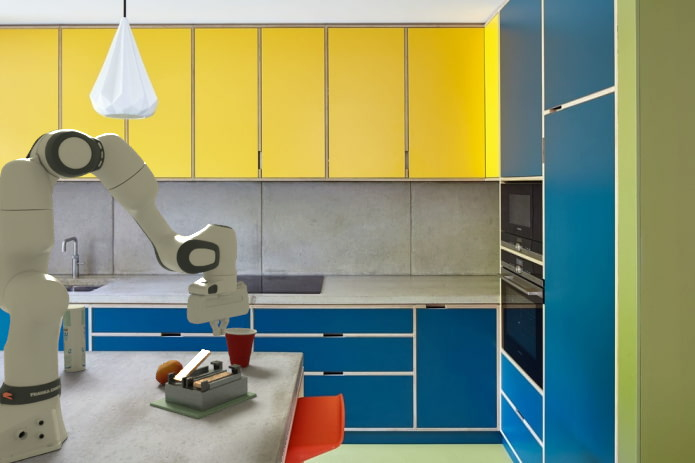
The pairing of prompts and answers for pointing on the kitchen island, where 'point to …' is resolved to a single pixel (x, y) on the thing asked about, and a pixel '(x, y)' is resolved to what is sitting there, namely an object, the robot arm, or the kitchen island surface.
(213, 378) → the strap near
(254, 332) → the plastic cup
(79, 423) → the kitchen island surface
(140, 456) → the kitchen island surface
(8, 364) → the robot arm
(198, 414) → the board
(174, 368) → the fruit
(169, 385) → the grey toaster
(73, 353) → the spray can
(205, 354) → the strap far
